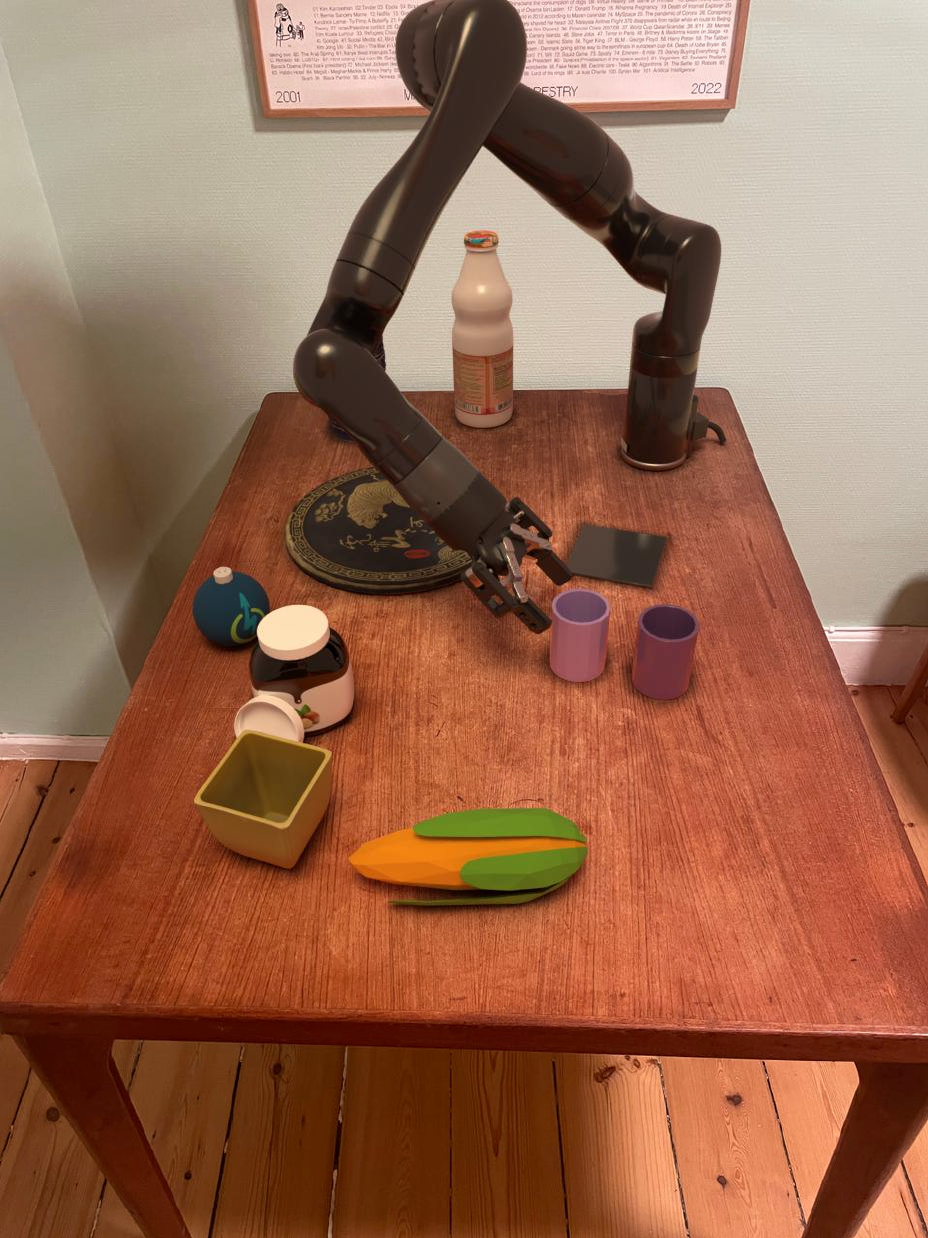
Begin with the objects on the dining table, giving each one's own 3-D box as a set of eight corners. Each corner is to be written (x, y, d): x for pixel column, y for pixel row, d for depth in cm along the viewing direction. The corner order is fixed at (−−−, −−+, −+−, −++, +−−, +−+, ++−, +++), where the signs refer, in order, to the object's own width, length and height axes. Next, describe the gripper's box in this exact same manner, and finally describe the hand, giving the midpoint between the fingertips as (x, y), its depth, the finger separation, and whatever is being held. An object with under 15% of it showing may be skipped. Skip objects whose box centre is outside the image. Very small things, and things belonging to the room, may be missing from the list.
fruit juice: (455, 430, 141) (448, 246, 123) (454, 403, 148) (447, 226, 130) (514, 428, 141) (516, 243, 123) (511, 401, 148) (512, 223, 130)
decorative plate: (503, 589, 105) (256, 579, 108) (503, 602, 106) (258, 592, 109) (516, 464, 129) (312, 459, 131) (516, 476, 130) (313, 471, 132)
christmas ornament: (205, 668, 99) (185, 597, 93) (197, 623, 105) (178, 554, 99) (281, 650, 101) (265, 579, 94) (269, 607, 107) (254, 538, 101)
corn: (598, 851, 69) (340, 869, 69) (593, 913, 74) (350, 930, 73) (582, 782, 75) (344, 798, 75) (578, 843, 80) (354, 858, 79)
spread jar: (354, 680, 97) (342, 595, 89) (363, 758, 88) (350, 670, 81) (242, 696, 95) (220, 611, 88) (240, 776, 87) (215, 689, 79)
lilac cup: (585, 639, 101) (590, 582, 96) (615, 671, 97) (621, 613, 91) (539, 655, 99) (541, 598, 94) (567, 689, 95) (571, 631, 90)
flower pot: (346, 815, 82) (334, 749, 77) (302, 894, 76) (286, 828, 70) (261, 793, 85) (244, 727, 79) (213, 867, 78) (190, 801, 73)
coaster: (583, 526, 119) (583, 523, 118) (667, 539, 116) (667, 537, 115) (563, 573, 111) (563, 570, 110) (652, 589, 108) (652, 586, 107)
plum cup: (666, 655, 98) (675, 597, 93) (700, 688, 94) (711, 630, 89) (620, 672, 96) (627, 614, 91) (653, 707, 92) (661, 648, 87)
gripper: (448, 511, 82) (565, 631, 86) (495, 440, 92) (597, 550, 96) (399, 549, 87) (512, 661, 91) (449, 478, 97) (548, 581, 101)
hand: (556, 604), depth 94 cm, fingers open, 8 cm apart
